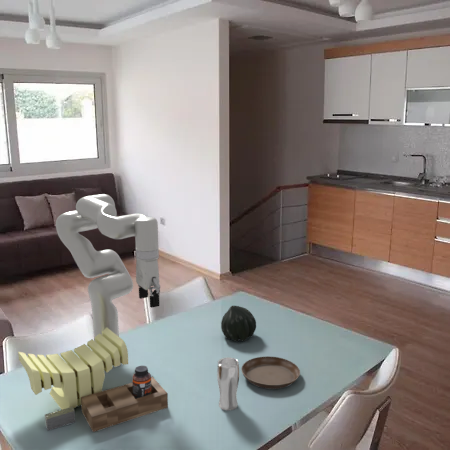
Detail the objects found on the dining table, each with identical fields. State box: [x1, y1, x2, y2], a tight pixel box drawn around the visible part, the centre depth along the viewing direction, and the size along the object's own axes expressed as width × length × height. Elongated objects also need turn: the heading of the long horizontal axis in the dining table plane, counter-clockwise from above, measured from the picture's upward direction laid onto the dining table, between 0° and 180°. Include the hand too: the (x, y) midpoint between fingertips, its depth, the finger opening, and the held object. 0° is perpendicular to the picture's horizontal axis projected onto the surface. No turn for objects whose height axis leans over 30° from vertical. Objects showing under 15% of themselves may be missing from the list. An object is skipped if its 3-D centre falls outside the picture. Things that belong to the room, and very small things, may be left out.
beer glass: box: [216, 357, 240, 411], centre depth 153 cm, size 7×7×15 cm
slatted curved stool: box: [17, 328, 129, 410], centre depth 158 cm, size 30×16×18 cm, turn 128°
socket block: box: [81, 376, 169, 433], centre depth 152 cm, size 12×24×5 cm, turn 121°
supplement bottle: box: [131, 365, 152, 399], centre depth 155 cm, size 6×6×11 cm
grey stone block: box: [44, 407, 76, 432], centre depth 145 cm, size 3×8×4 cm, turn 121°
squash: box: [220, 305, 257, 342], centre depth 202 cm, size 14×15×15 cm
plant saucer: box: [240, 356, 301, 390], centre depth 172 cm, size 21×21×3 cm
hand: (149, 302), depth 166 cm, fingers open, 9 cm apart
